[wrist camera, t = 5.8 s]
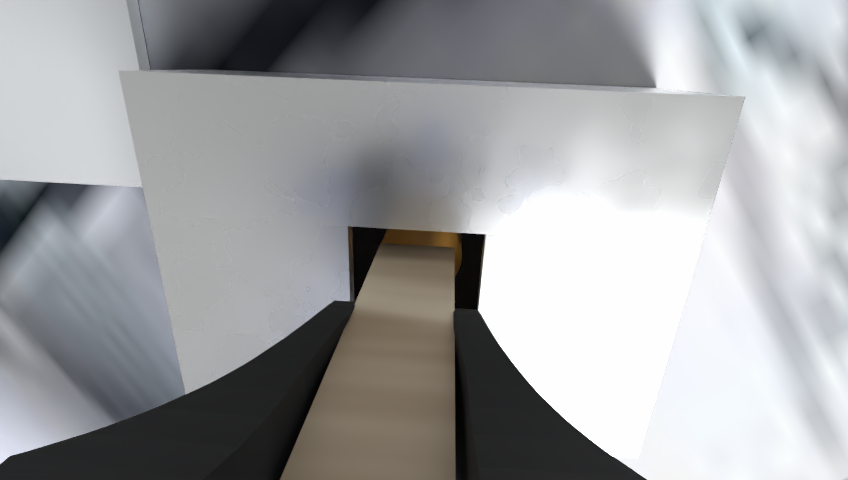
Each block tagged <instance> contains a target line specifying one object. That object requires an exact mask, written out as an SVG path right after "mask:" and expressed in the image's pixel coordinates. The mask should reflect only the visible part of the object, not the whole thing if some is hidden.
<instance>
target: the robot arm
mask: <svg viewBox="0 0 848 480" xmlns="http://www.w3.org/2000/svg"><path fill="white" fill-rule="evenodd" d="M354 304H355V302H352V301H337V300H334V301H333V302H332V303H330V304H329V305H327V306H326V307H325V308H324V309H322V310H321V311H320V312H318V313H317V314H316V315H315V316H313V317H312V318H311V319H309V320H308V321H307V322H305V323H304V324H303V325H301V326H300V327H299V328H297V329H296V330H295V331H293V332H292V333H291V334H289V335H288V336H287V337H285V338H284V339H282V340H281V341H279V342H278V343H276V344H275V345H273V346H272V347H270V348H269V349H267V350H266V351H264V352H263V353H261V354H260V355H258V356H257V357H255V358H254V359H252V360H250V361H249V362H247V363H246V364H244V365H242V366H240V367H239V368H237V369H235V370H233V371H232V372H230V373H228V374H226V375H224V376H222V377H221V378H219V379H217V380H215V381H213V382H211V383H209V384H207V385H205V386H203V387H201V388H199V389H196V390H194V391H192V392H190V393H188V394H186V395H183V396H181V397H179V398H177V399H175V400H172V401H170V402H168V403H166V404H164V405H161V406H159V407H157V408H154V409H152V410H149V411H147V412H144V413H142V414H139V415H136V416H134V417H131V418H129V419H126V420H123V421H120V422H118V423H115V424H112V425H109V426H107V427H104V428H101V429H98V430H95V431H92V432H89V433H86V434H83V435H80V436H77V437H73V438H70V439H67V440H63V441H60V442H57V443H54V444H50V445H47V446H44V447H41V448H37V449H34V450H31V451H27V452H24V453H20V454H17V455H13V456H10V457H8V458H7V459H6V460H5V461H4V462H3V463H1V464H0V480H280V478H281V476H282V474H283V471H284V469H285V467H286V464H287V462H288V460H289V457H290V455H291V453H292V450H293V448H294V445H295V443H296V441H297V438H298V436H299V434H300V431H301V429H302V427H303V424H304V422H305V420H306V417H307V415H308V413H309V410H310V408H311V405H312V403H313V401H314V398H315V396H316V394H317V391H318V389H319V387H320V384H321V382H322V380H323V377H324V375H325V373H326V370H327V368H328V365H329V363H330V361H331V358H332V356H333V354H334V351H335V349H336V347H337V344H338V342H339V340H340V337H341V335H342V333H343V330H344V328H345V326H346V325H347V323H348V321H349V319H350V317H351V314H352V312H353V310H354V307H355V305H354ZM453 328H454V334H455V480H647V479H645V478H643V477H642V476H640V475H639V474H637V473H636V472H635V471H633V470H632V469H630V468H629V467H627V466H626V465H624V464H623V463H622V462H620V461H619V460H617V459H616V458H614V457H613V456H612V455H610V454H609V453H607V452H606V451H605V450H603V449H602V448H601V447H599V446H598V445H597V444H595V443H594V442H593V441H592V440H590V439H589V438H588V437H587V436H585V435H584V434H583V433H582V432H581V431H579V430H578V429H577V428H576V427H575V426H573V425H572V424H571V423H570V422H569V421H567V420H566V419H565V418H564V417H563V416H562V415H561V414H560V413H558V412H557V411H556V410H555V409H554V408H553V407H552V406H551V405H550V404H549V403H548V402H547V401H546V400H545V399H544V398H543V397H542V396H541V395H540V394H539V393H538V392H537V391H536V390H535V389H534V387H533V386H532V385H531V384H530V383H529V382H528V381H527V379H526V378H525V377H524V376H523V375H522V373H521V372H520V371H519V370H518V369H517V367H516V366H515V365H514V363H513V362H512V361H511V359H510V358H509V357H508V355H507V354H506V353H505V351H504V350H503V348H502V347H501V346H500V344H499V343H498V341H497V340H496V338H495V337H494V335H493V333H492V332H491V330H490V329H489V327H488V325H487V323H486V322H485V320H484V318H483V316H482V314H481V313H480V312H479V311H478V310H475V309H459V308H455V311H453Z"/></svg>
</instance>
